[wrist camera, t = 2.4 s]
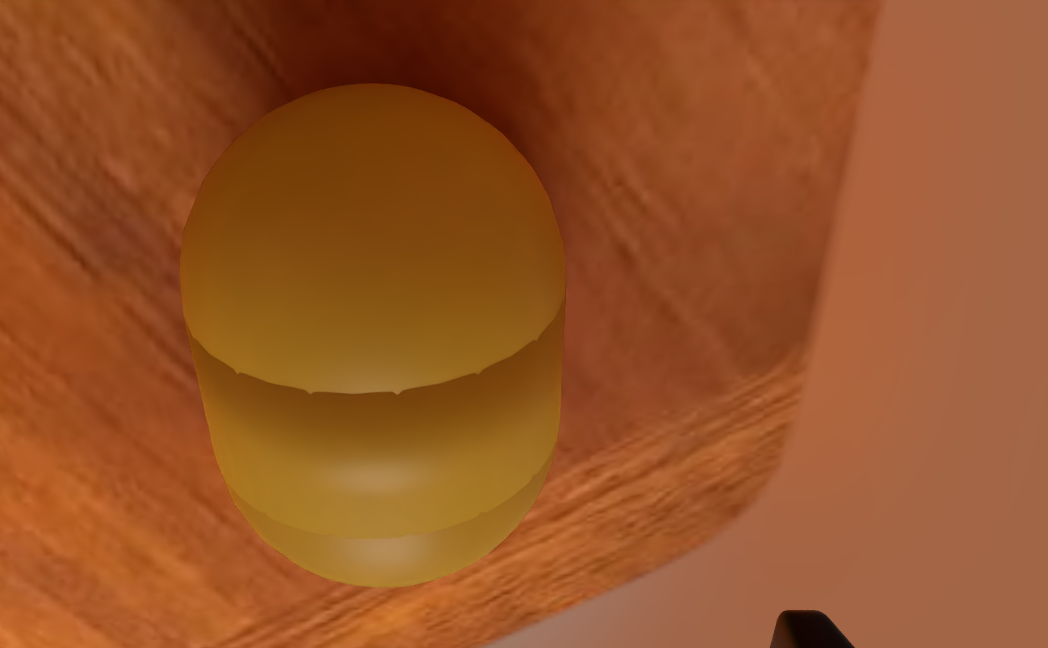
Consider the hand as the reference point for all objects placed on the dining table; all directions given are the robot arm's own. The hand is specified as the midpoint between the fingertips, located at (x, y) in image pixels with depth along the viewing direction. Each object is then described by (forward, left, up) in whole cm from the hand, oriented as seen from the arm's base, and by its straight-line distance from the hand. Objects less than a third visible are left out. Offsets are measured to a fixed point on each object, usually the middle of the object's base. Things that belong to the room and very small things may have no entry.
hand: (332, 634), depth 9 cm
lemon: (0, 0, -8) cm, 8 cm away
